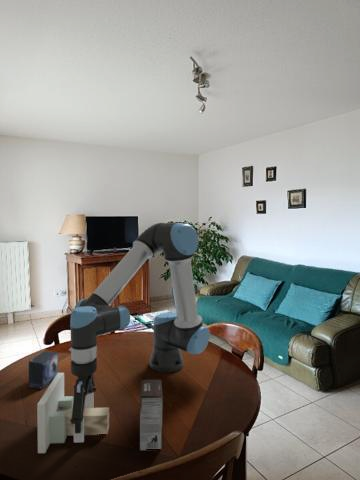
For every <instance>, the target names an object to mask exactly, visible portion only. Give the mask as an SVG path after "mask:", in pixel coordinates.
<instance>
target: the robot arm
mask: <svg viewBox="0 0 360 480" xmlns="http://www.w3.org/2000/svg"><path fill="white" fill-rule="evenodd" d="M198 246H199V235H198V233H197V231H196V229H195V227H193V226H192V225H190V224H189V223H182V222H158V223H154V224H152V225H150V226H149V227H147V228H146V229H145V230H144V231H143V232H141V233H140V234H139V235H138V236H137V237H136V238H135V240H134V241H132V247H131V248H130V250H128V252H127V253H126V254H125V255H124V256H123V257H122V259H121V260H120V261H119V262H118V263H117V265H116V266H115V267H114V268H113V269H112V270H111V272H110V273H109V274H108V275H107V276H106V277H105V278H104V280H102V281H101V283H100V284H99V285H98V286H97V287H96V289H95V290H94V291H92V293H91V295H90V296H88V298H82V299H80V300H78V301H77V302H76V303H75V306H74V308H73V309H72V310H71V313H70V320H69V321H70V322H69V323H70V324H69V327H70V347H69V349H68V351H69V352H70V353H71V354H70V359H71V361H70V373H71V374H72V375H73V376H75V377H77V379H75V380H76V381H75V384H74V386H73V396H74V400H73V410H72V419H70V422H71V424H74V436H73V443H84V442H85V435H84V419H83V413H84V408H95V407H94V405H95V404H94V402H95V401H94V397H95V395H94V393H95V392H97V387H95V386H96V384H95V383H96V382H95V377H94V373H96V371H97V369H98V364H97V362H98V359H97V356H98V343H97V341H98V337H99V336H102V335H107V334H110V333H113V332H116V331H120V330H123V329H125V328H128V326H129V325H130V323H131V313H130V311H129V309H128V308H127V307H126V306H124V305H116V306H113V307H111V304H112V303H113V302H114V300H115V299H116V298H117V297H118V295H119V294H120V293H121V292H122V290H124V288H125V287H126V285H127V284H128V283H129V282H130V281H131V280H132V278H133V277H134V276H135V275H136V273H137V272H138V271H139V270H140V268H141V267H142V266H143V265H144V264H145V262H146V261H147V260H148V259H152V258H153V257H154V255H156V253H159V252H161V253H163V256H164V261H166V262H167V263H168V264H169V270H170V271H169V272H170V277H171V278H170V279H171V286H172V291H173V299H174V304H175V305H174V306H175V311H176V312H164V313H160V314H157V315H156V316H154V318H153V349H152V352H151V355H150V358H149V367H150V369H152V370H153V371H155V372H158V373H163V374H164V373H167V374H169V373H173V372H177V371H180V370H181V369H183V367H184V358H183V355H182V351H184V352H186V353H188V354H193V355H199V354H201V353H202V352H204V351H205V349H206V348H207V346H208V344H209V341H210V338H211V337H210V336H211V333H210V328H208V327H207V326H205V325H204V324H203V323H204V322H203V317H202V316H201V315H200V314H198V307H197V298H196V290H195V283H194V276H193V269H192V262H191V261H192V259H193V258H194V257H195V253H196V251H197V249H198ZM181 350H182V351H181Z"/></svg>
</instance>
